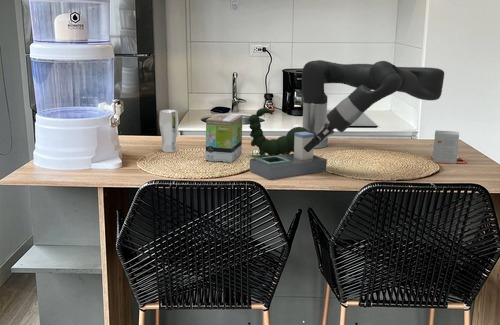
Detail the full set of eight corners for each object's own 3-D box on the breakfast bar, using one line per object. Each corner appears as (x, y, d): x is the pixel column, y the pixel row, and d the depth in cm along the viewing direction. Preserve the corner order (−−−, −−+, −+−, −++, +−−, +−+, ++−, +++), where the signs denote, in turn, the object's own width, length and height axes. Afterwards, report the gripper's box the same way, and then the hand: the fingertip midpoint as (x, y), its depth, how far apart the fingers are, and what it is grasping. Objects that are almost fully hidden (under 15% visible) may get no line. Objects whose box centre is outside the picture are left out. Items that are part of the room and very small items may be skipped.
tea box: (233, 163, 189) (233, 120, 185) (204, 161, 190) (204, 119, 187) (242, 153, 203) (242, 113, 199) (216, 152, 205) (216, 112, 201)
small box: (456, 160, 196) (459, 131, 194) (456, 164, 191) (459, 134, 189) (432, 158, 199) (435, 129, 196) (432, 162, 194) (435, 132, 191)
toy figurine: (251, 164, 194) (322, 159, 193) (247, 111, 190) (320, 105, 188) (252, 157, 203) (320, 153, 202) (248, 107, 199) (318, 102, 197)
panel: (304, 163, 189) (304, 150, 188) (326, 171, 179) (326, 157, 178) (249, 171, 178) (249, 157, 177) (269, 179, 168) (270, 165, 167)
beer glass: (156, 151, 204) (155, 111, 200) (166, 147, 210) (165, 108, 207) (173, 153, 201) (172, 112, 198) (182, 149, 208) (181, 110, 204)
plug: (304, 166, 185) (305, 131, 182) (312, 169, 181) (314, 133, 178) (293, 168, 183) (294, 132, 180) (301, 171, 179) (302, 135, 176)
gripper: (350, 126, 166) (311, 160, 172) (356, 119, 179) (320, 151, 185) (333, 108, 166) (295, 143, 172) (340, 102, 180) (305, 135, 186)
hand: (308, 147), depth 179 cm, fingers open, 8 cm apart
